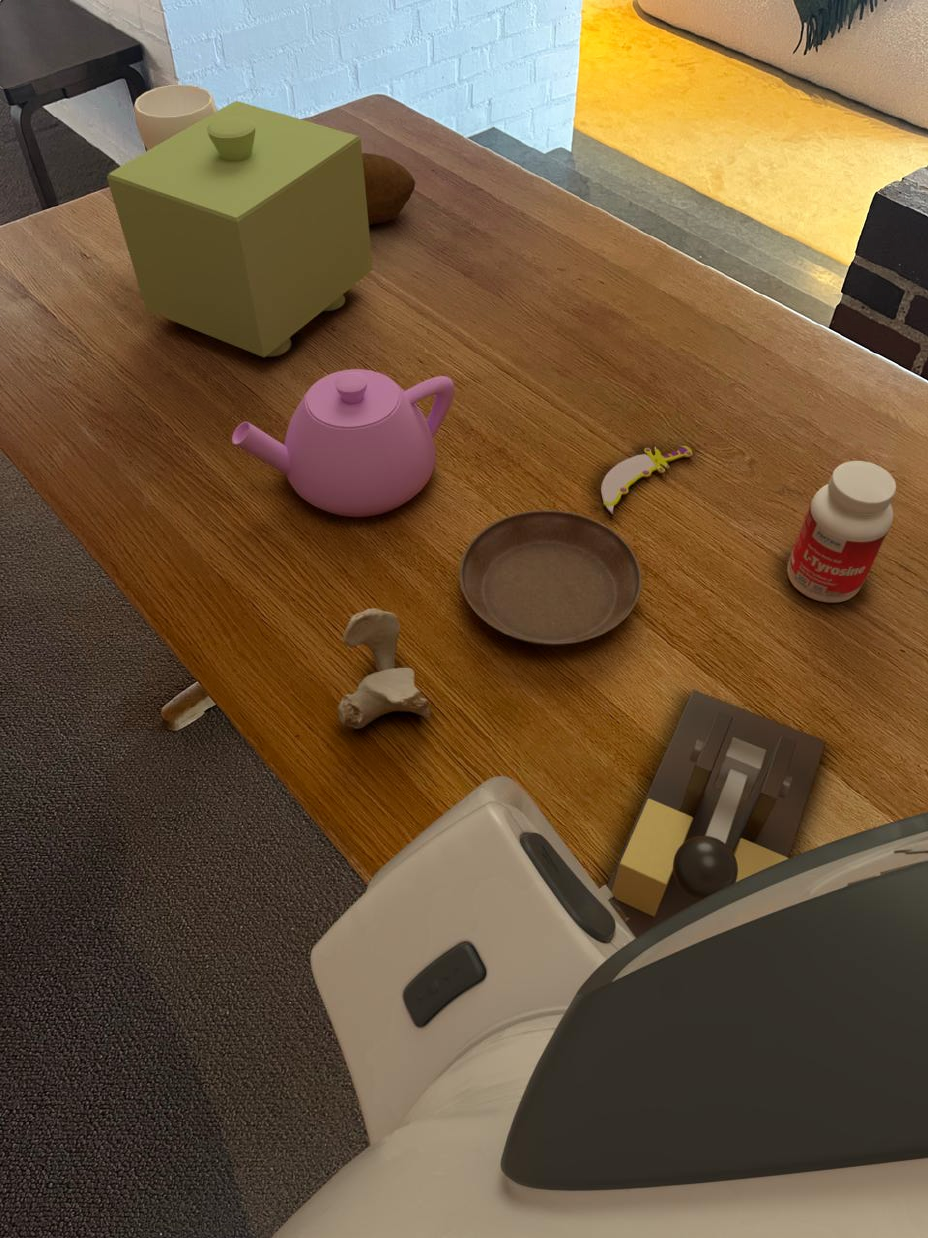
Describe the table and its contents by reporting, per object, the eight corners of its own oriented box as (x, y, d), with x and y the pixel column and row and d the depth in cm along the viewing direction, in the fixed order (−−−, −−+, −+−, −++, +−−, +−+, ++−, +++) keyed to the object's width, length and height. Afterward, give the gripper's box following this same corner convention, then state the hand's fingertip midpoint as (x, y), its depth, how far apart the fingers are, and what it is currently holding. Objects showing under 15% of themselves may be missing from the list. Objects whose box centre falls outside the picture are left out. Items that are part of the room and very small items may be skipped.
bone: (414, 767, 68) (341, 664, 63) (349, 765, 72) (276, 668, 67) (465, 682, 73) (402, 581, 68) (402, 685, 77) (338, 590, 72)
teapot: (234, 453, 91) (210, 359, 83) (433, 409, 95) (429, 315, 87) (262, 553, 83) (238, 460, 75) (479, 500, 87) (480, 405, 79)
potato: (309, 213, 120) (300, 151, 114) (401, 193, 123) (398, 131, 117) (330, 245, 115) (322, 181, 109) (425, 223, 118) (423, 160, 112)
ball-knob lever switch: (720, 923, 47) (741, 873, 46) (658, 896, 48) (678, 845, 47) (759, 790, 60) (777, 747, 59) (710, 770, 61) (727, 727, 60)
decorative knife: (577, 486, 88) (612, 516, 85) (577, 482, 88) (613, 512, 85) (670, 437, 92) (707, 464, 89) (671, 433, 92) (708, 460, 89)
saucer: (462, 528, 85) (462, 506, 83) (630, 531, 84) (634, 509, 82) (456, 662, 75) (456, 641, 73) (644, 666, 75) (649, 645, 73)
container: (268, 377, 99) (230, 187, 83) (151, 329, 104) (95, 143, 89) (374, 289, 109) (358, 105, 93) (263, 249, 114) (230, 69, 99)
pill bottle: (779, 593, 80) (816, 496, 71) (792, 543, 83) (828, 445, 75) (856, 614, 78) (903, 517, 70) (865, 562, 82) (911, 464, 73)
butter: (769, 891, 62) (789, 857, 58) (746, 960, 59) (765, 929, 55) (637, 833, 64) (648, 797, 61) (610, 897, 62) (619, 863, 58)
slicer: (739, 1001, 59) (783, 936, 51) (589, 929, 62) (607, 856, 54) (820, 751, 70) (867, 663, 62) (689, 700, 73) (717, 610, 65)
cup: (181, 218, 119) (147, 80, 107) (252, 222, 118) (226, 84, 106) (157, 256, 114) (118, 116, 101) (230, 262, 113) (200, 120, 100)
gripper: (1118, 1648, 17) (980, 1259, 30) (453, 747, 23) (575, 745, 36) (834, 1801, 18) (818, 1362, 31) (270, 901, 24) (453, 846, 37)
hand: (685, 1026), depth 34 cm, fingers open, 8 cm apart
